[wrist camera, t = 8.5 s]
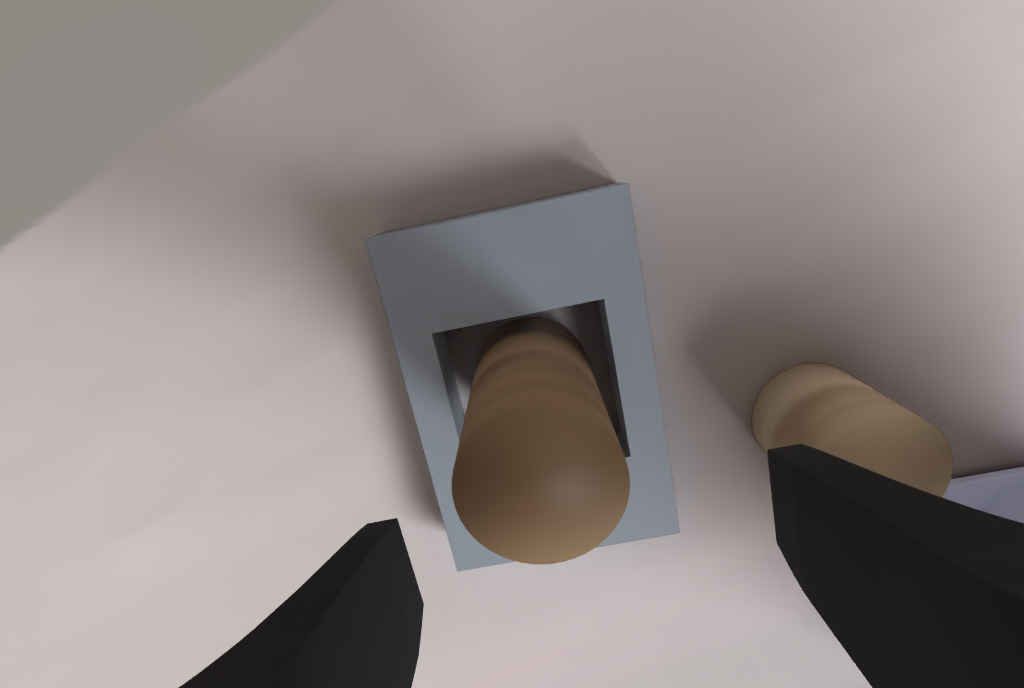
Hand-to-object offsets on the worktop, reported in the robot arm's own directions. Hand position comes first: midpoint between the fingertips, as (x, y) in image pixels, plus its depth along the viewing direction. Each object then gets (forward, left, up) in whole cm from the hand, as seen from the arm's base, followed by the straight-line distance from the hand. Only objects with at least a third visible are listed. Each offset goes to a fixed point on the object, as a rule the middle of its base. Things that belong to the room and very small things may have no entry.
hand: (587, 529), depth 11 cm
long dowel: (0, +1, -10) cm, 10 cm away
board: (0, +1, -10) cm, 10 cm away
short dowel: (-4, -9, -10) cm, 14 cm away
